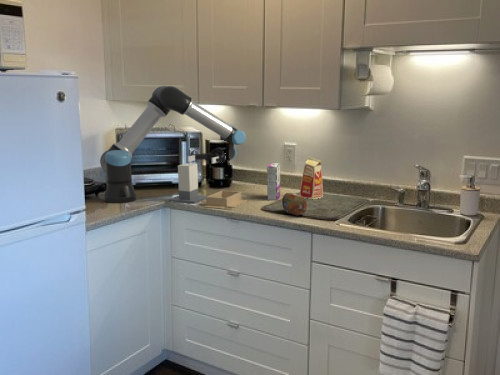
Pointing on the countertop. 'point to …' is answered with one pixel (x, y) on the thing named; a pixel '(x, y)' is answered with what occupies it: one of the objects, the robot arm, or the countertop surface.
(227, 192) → the carton
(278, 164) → the candy bar box
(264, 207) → the countertop surface
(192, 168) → the box
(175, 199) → the board
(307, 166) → the milk carton
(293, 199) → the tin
